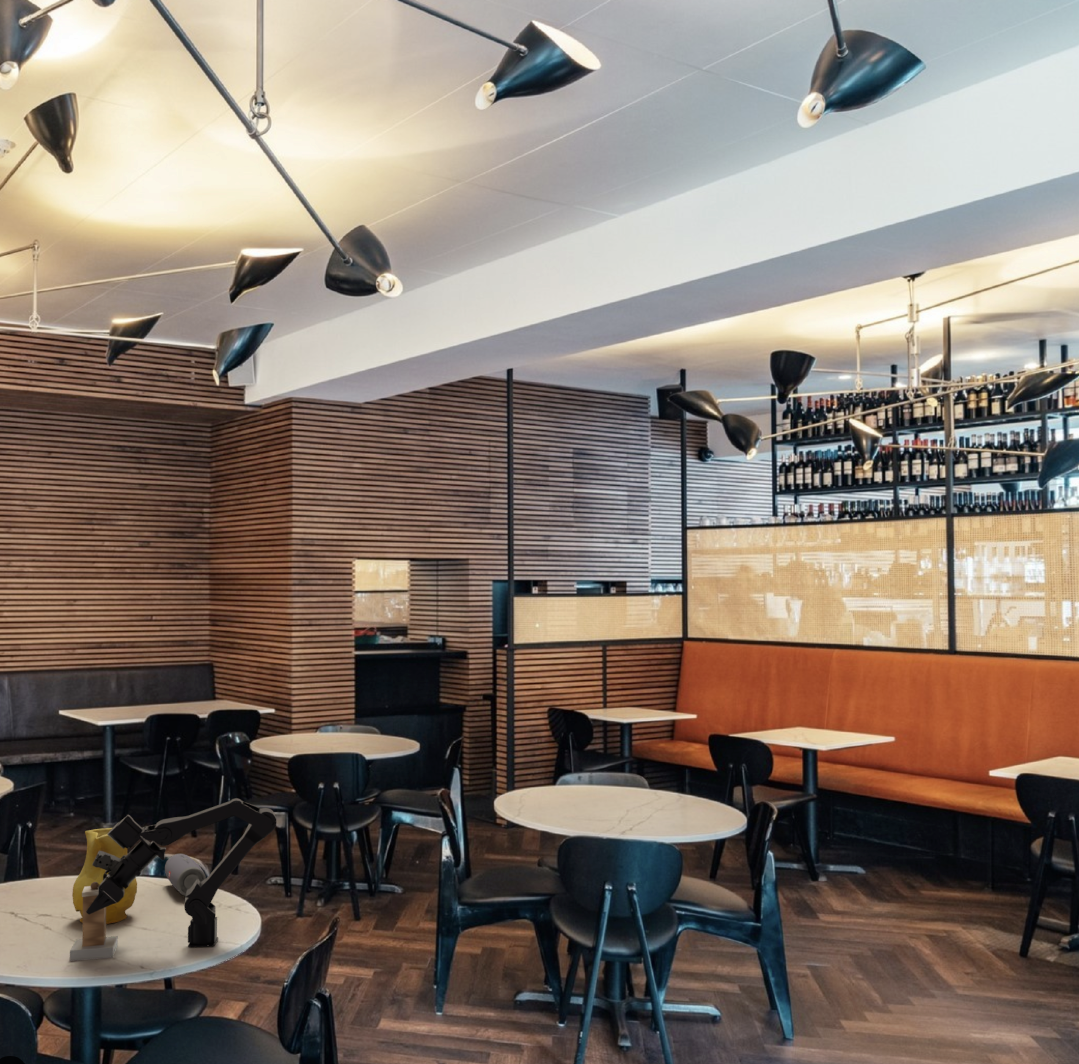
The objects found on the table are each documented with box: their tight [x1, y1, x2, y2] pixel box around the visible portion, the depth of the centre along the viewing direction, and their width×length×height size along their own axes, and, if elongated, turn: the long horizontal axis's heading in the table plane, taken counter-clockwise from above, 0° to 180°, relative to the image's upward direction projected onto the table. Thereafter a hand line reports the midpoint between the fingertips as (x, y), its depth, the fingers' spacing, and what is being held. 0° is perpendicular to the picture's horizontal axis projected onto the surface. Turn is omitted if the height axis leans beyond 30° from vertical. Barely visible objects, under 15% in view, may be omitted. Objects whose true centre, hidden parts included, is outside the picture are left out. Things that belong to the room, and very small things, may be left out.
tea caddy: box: [81, 882, 107, 947], centre depth 279 cm, size 5×5×15 cm
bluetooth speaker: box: [164, 853, 207, 897], centre depth 339 cm, size 23×9×10 cm, turn 28°
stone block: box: [69, 935, 119, 962], centre depth 279 cm, size 10×10×3 cm
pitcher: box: [71, 827, 138, 925], centre depth 311 cm, size 17×18×25 cm
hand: (89, 908), depth 279 cm, fingers open, 9 cm apart
